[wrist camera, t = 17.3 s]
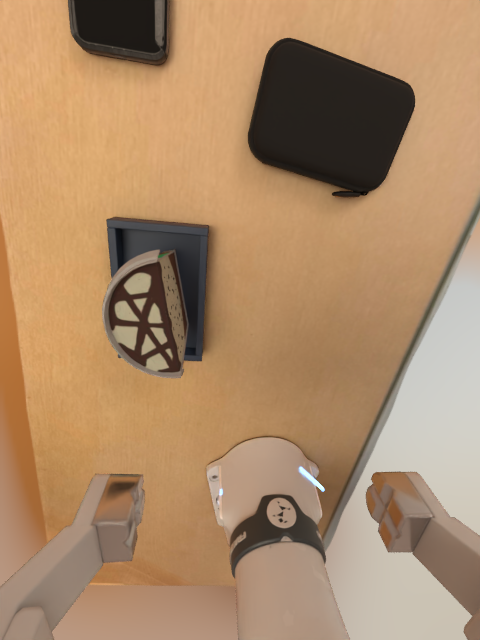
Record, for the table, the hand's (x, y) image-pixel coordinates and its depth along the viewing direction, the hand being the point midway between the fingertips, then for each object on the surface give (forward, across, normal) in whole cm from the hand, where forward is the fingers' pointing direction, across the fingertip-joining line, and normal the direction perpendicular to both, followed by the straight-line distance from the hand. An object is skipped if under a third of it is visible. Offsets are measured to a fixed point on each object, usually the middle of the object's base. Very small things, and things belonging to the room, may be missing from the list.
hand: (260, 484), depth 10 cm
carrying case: (+27, -8, -15) cm, 32 cm away
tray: (+27, +8, +2) cm, 28 cm away
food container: (+27, +9, +2) cm, 28 cm away
